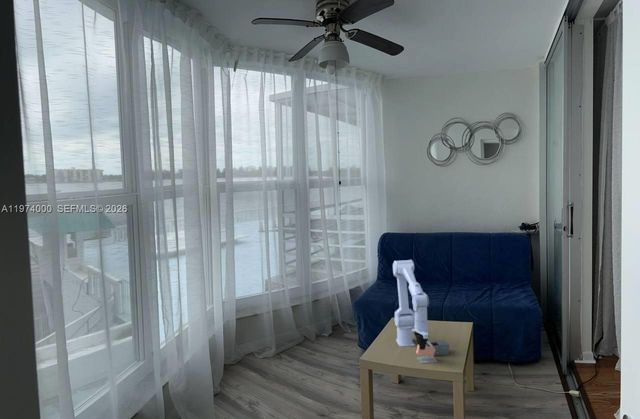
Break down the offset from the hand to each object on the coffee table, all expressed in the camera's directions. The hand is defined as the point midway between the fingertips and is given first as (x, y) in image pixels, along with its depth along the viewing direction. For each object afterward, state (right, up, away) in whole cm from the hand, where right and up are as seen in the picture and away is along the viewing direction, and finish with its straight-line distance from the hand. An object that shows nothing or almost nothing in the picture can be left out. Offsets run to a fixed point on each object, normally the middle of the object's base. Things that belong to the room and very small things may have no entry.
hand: (421, 348), depth 201 cm
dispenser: (+9, -5, +8) cm, 13 cm away
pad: (+3, -6, +1) cm, 6 cm away
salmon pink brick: (+2, -3, 0) cm, 4 cm away
